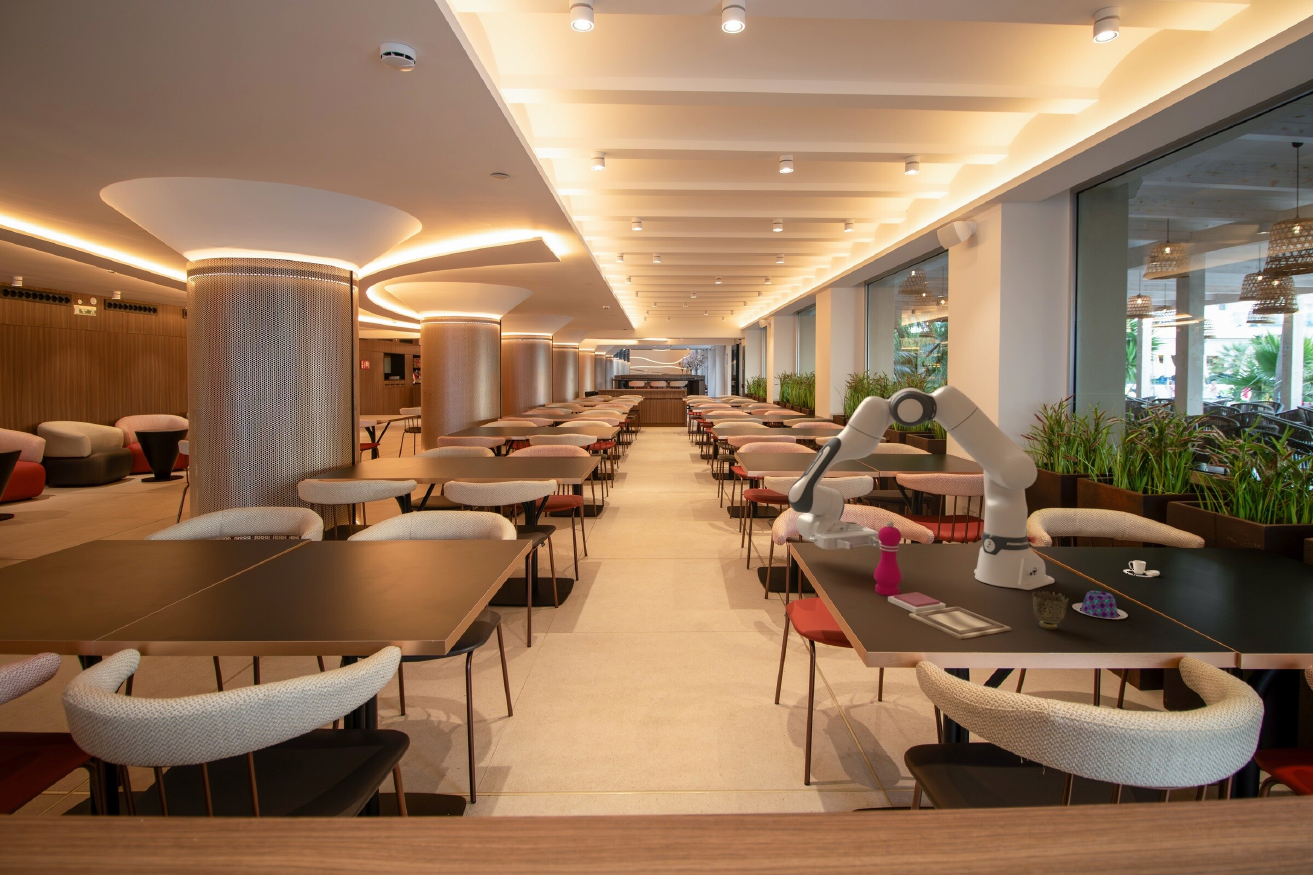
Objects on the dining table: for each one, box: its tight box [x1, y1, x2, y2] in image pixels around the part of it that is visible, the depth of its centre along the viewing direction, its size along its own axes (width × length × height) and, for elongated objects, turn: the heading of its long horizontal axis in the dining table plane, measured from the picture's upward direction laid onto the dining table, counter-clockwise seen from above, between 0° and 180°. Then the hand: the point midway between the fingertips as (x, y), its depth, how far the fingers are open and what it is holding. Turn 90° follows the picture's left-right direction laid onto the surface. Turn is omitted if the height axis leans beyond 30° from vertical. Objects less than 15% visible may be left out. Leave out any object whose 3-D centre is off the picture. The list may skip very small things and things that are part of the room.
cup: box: [1031, 590, 1069, 631], centre depth 164 cm, size 8×7×8 cm
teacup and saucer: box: [1123, 560, 1161, 578], centre depth 213 cm, size 9×8×4 cm
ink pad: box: [887, 591, 947, 613], centre depth 179 cm, size 10×10×2 cm
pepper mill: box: [873, 520, 903, 597], centre depth 189 cm, size 7×7×20 cm
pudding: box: [1071, 590, 1129, 620], centre depth 176 cm, size 12×12×5 cm
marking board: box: [908, 605, 1012, 640], centre depth 167 cm, size 16×16×1 cm
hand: (864, 545), depth 198 cm, fingers open, 8 cm apart
